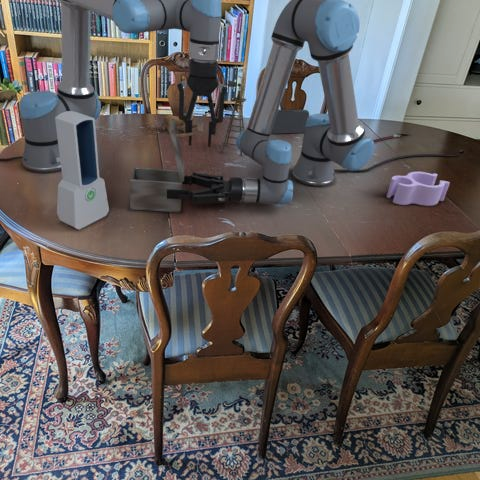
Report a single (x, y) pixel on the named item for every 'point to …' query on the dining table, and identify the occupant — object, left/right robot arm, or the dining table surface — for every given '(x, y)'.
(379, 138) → the paintbrush
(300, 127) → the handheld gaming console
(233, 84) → the miniature windmill
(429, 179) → the clip
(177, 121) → the lion figurine
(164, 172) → the chest
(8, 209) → the dining table surface
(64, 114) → the electronic device
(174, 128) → the grey piece
